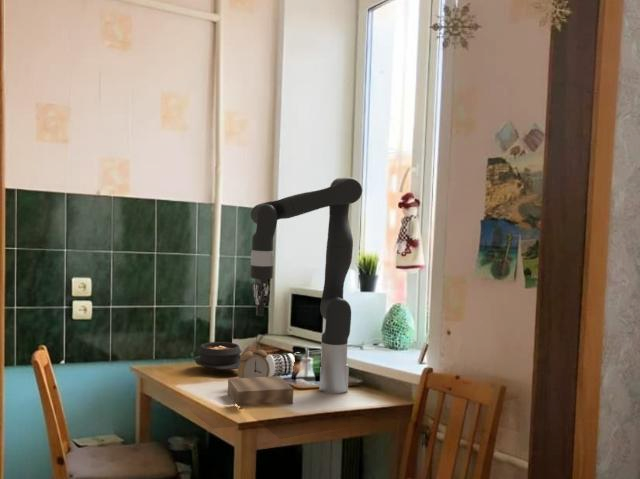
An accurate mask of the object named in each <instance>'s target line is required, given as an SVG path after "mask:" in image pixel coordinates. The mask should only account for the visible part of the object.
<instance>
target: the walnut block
mask: <svg viewBox="0 0 640 479" xmlns="http://www.w3.org/2000/svg"><path fill="white" fill-rule="evenodd" d="M227 396H228V397H229V398H230V399H231V400H232V401H233V402H234V404H235V403H236V404H237V405H238V406H240V407H244V406H245V407H246V406H247V407H248V406H250V405H252V406H271V404H275V405H293V403H294V388H293V387H292V385H290V383H288V382H287V381H286V380H285V379H284V378H282V377H281V376H273V377H269V376H268V377H253V378H239V377H237V378H236V377H234V378H233V377H232V378H227Z"/></svg>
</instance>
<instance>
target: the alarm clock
mask: <svg viewBox="0 0 640 479" xmlns="http://www.w3.org/2000/svg"><path fill="white" fill-rule="evenodd" d="M251 346H256V347H258V349H256V350H254V352H252V351H250V350H249V348H251ZM267 355H268V353H267V352H266V351H265V349H264V348H262V347H261V345H259V344H256V343H251V344H249V345H248V346H247V347H246V348H245V349H244V350H243V351H242V352H241V353H240V355H239V359H241V362H240V364H239V366H238V369H237V375H238V376H237V377H238V378H253V377H269V371H270V368H269V363H268V361H267V360H266V358H267Z"/></svg>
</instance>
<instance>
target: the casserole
mask: <svg viewBox="0 0 640 479" xmlns="http://www.w3.org/2000/svg"><path fill="white" fill-rule="evenodd" d="M197 352H198V354H199V355H198V356H193V360H194V361H195V364H196V365H198V366H201V367H204V368H205V369H209V370H217V371H219V370H223V371H228V370H238V366H239V364H240V362H241V359H240V355H241V354H242V349H241V348H240V345H239V344H237V343H234V342H233V343H232V342H226V341H214V342H213V341H210V342H205V343H202V344H201V345H200V347H199V349H198V350H197Z"/></svg>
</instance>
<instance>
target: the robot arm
mask: <svg viewBox="0 0 640 479" xmlns="http://www.w3.org/2000/svg"><path fill="white" fill-rule="evenodd" d="M362 194H363V187H362V184H361V183H360V182H359V181H358V180H357V179H355V178H354V177H338V178H336V179H334V180H333V181H332V182H331V183H330V186H328V187H326V188H325V187H324V188H322V189H318V190H313V191H307V192H306V191H305V192H302V193H296V194H293V195H290V196H287V197H284V198H280V199H277V200H272V201H266V202H262V203H258V204H256V205H255V206H253V208H252V209H251V211H250V219H251V221H252V222H254V223H255V224H256V227H255V229H256V230H255V233H254V234H253V235H252V238H251V255H250V269H249V270H250V272H249V273H250V274H249V276H250V279H254V284H253V285H252V287H251V289H252V294H253V300H254V302H255V305H256V307H255V308H256V311H255V315H256V316H258V317H263V316H265V305H266V304H267V303H268V300H269V297H270V294H271V290H270V289H269V284H268V280H271V279H273V278H274V276H273V275H274V236H275V233H276V228H277V226H278V225H277V223H278V221H279V220H284V219H291V218H294V217H298V216H301V215H304V214H308V213H311V212H314V211H317V210H319V209H323V208H327V207H329V213H328V214H329V218H328V226H327V227H328V229H327V242H326V251H325V269H324V284H323V290H322V295H321V299H320V300H321V301H320V306H319V307H320V308H319V309H320V314H321V317H322V318H323V319H324V320H325V326H324V327H325V328H324V332H323V333H322V334H321V343H320V344H321V346H320V347H321V350H320V351H321V367H320V372H319V391H320V392H321V393H324V394H333V395H337V394H338V395H339V394H343V393H348V392H349V371H350V370H349V369H350V366H349V364H348V362H347V361H348V340H349V338H350V334H351V324H352V308H351V305H350V303H349V302H348V301H347V300H346V299H344V288H345V287H344V286H345V284H344V283H345V281H346V277H347V275H348V273H349V270H350V266H351V265H352V260H353V250H354V249H353V247H354V239H353V234H352V230H351V227H350V222H349V212H350V211H349V210H350V205H352V204H355V203H356V202H357V201H358V200H360V198H361V197H362Z"/></svg>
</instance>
